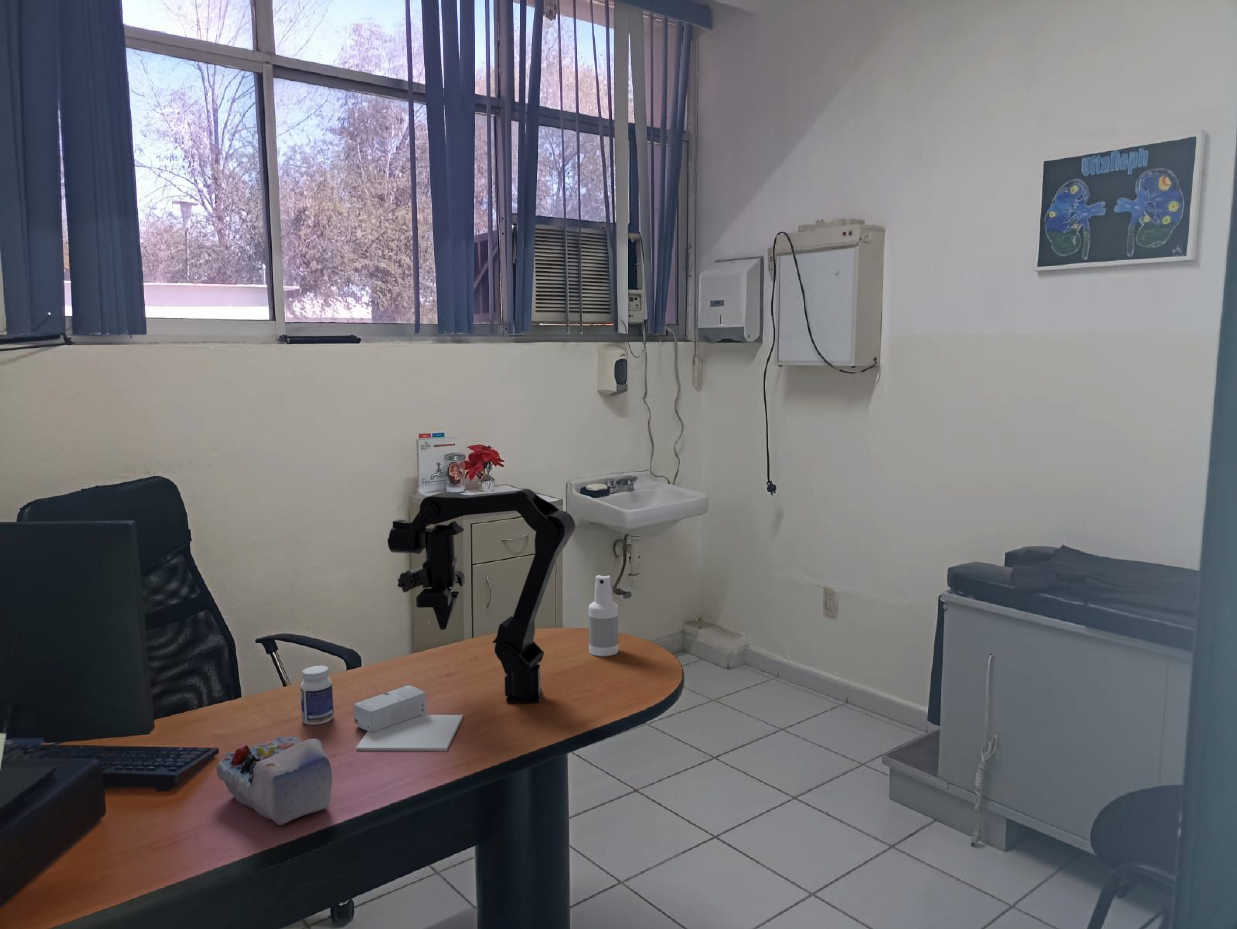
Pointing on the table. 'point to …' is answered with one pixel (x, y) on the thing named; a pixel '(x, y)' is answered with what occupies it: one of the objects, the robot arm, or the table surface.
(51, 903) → the table surface
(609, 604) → the spray bottle
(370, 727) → the skincare box
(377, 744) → the mat
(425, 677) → the table surface
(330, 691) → the pill bottle
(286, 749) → the cell model
